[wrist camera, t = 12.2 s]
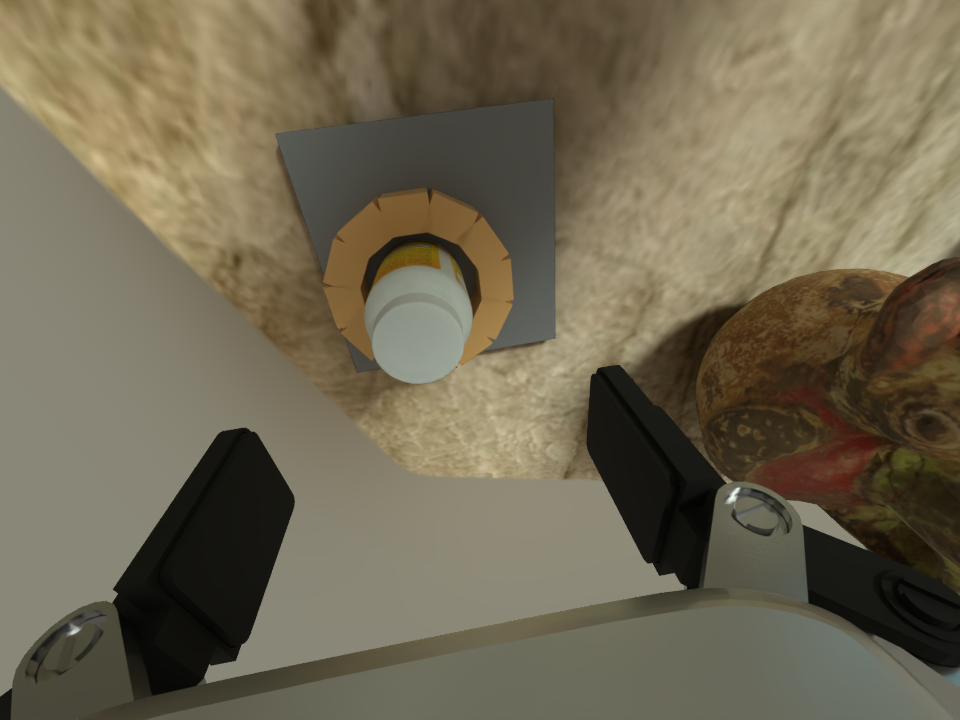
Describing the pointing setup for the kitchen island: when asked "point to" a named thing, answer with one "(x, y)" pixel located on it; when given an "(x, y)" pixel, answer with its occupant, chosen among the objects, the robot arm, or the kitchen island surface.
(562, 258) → the kitchen island surface
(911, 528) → the ceramic vessel
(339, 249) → the collar
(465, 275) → the plate
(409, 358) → the supplement bottle
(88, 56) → the kitchen island surface
